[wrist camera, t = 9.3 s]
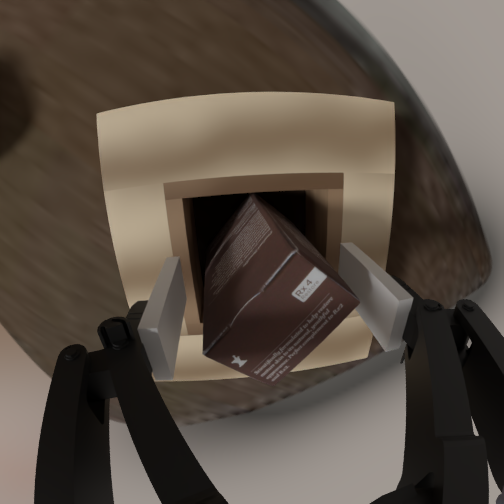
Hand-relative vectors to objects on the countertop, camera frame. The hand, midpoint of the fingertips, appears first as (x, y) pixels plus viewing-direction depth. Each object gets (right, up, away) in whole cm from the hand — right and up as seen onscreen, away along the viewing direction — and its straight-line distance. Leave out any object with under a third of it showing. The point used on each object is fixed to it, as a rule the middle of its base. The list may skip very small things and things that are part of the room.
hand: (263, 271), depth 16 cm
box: (-1, +2, +6) cm, 7 cm away
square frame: (-1, +2, +6) cm, 7 cm away
